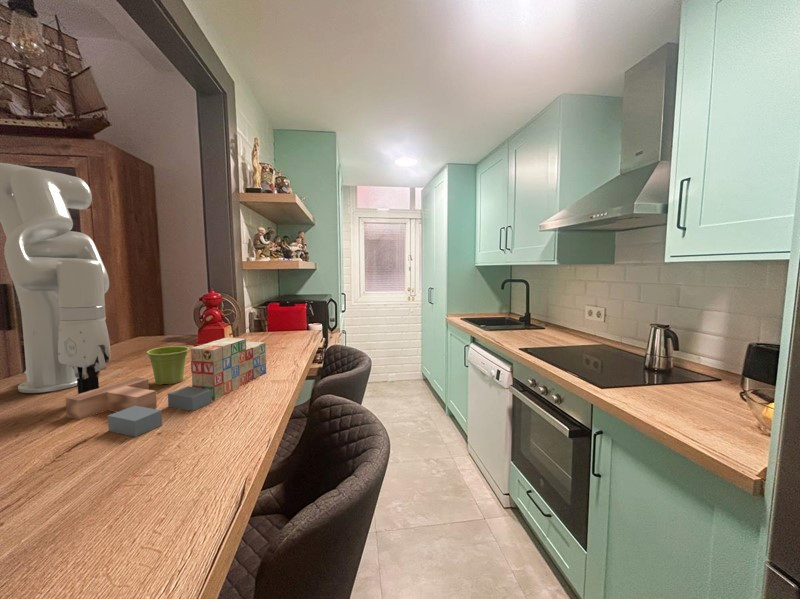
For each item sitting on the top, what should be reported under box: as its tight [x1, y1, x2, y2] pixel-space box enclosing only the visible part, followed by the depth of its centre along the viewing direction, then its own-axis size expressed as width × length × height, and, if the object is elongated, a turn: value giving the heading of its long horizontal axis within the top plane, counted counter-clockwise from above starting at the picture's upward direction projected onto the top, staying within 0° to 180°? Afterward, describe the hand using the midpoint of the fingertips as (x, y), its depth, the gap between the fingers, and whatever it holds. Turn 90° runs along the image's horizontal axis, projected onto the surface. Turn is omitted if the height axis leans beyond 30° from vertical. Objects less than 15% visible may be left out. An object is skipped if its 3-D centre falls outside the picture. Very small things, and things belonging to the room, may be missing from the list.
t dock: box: [107, 385, 213, 438], centre depth 71 cm, size 7×17×3 cm, turn 163°
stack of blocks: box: [190, 337, 267, 400], centre depth 91 cm, size 21×6×12 cm, turn 169°
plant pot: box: [146, 345, 190, 385], centre depth 91 cm, size 9×9×9 cm
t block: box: [65, 377, 158, 420], centre depth 74 cm, size 13×14×4 cm
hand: (88, 393), depth 78 cm, fingers closed
